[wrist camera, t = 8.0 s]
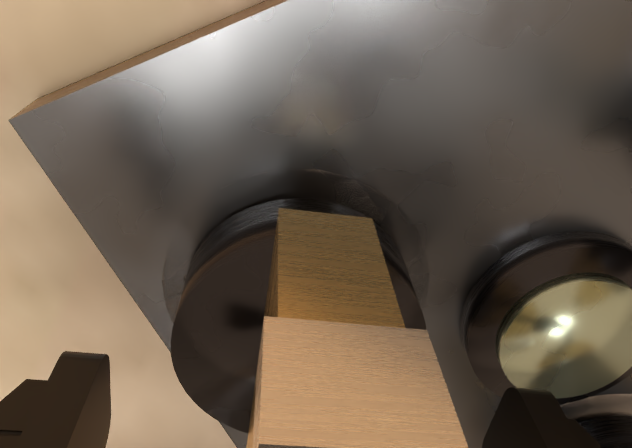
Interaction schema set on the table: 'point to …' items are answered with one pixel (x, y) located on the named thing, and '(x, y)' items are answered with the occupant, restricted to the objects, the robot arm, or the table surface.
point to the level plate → (387, 170)
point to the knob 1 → (310, 334)
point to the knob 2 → (610, 431)
